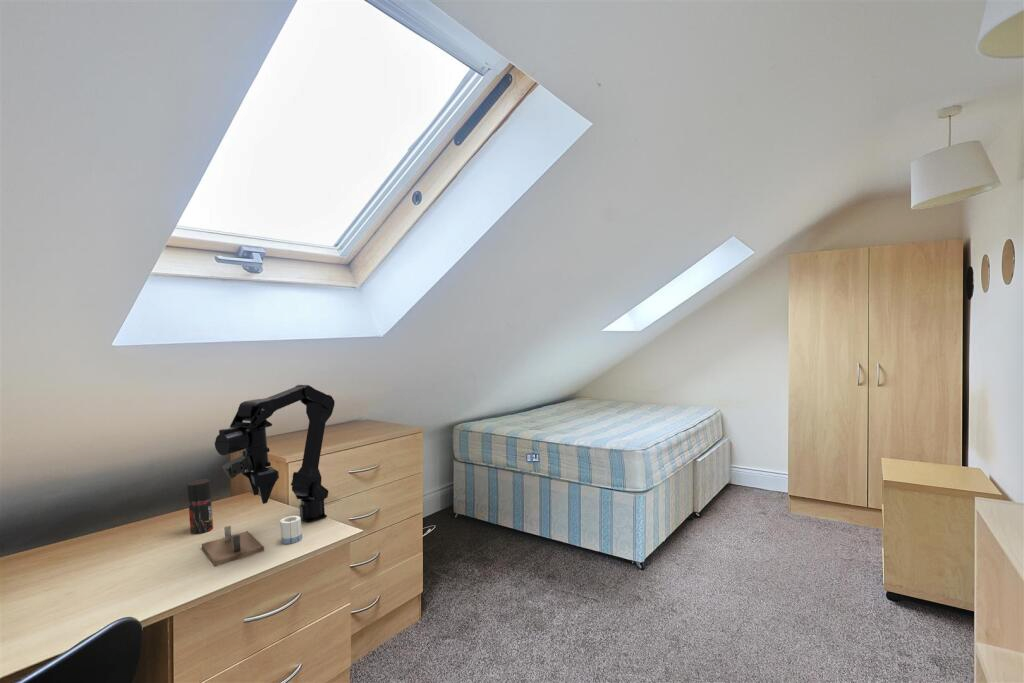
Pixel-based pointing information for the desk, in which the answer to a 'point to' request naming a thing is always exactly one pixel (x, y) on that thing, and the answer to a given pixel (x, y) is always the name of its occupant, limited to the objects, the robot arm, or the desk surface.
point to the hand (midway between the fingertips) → (260, 499)
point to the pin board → (231, 547)
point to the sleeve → (290, 529)
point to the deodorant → (200, 506)
